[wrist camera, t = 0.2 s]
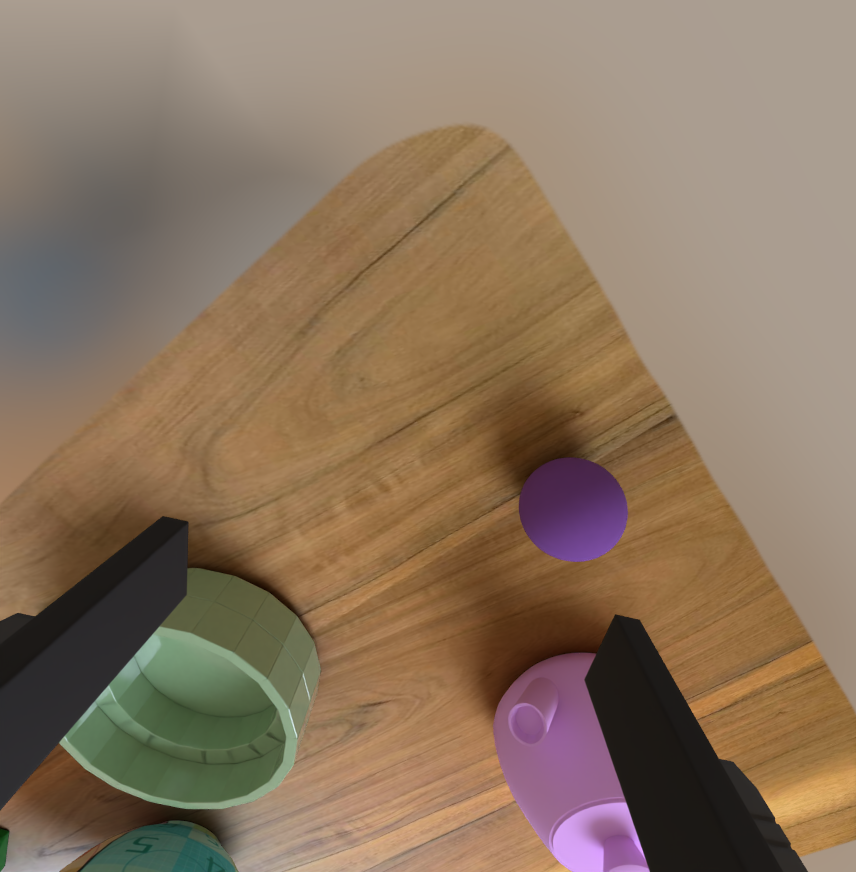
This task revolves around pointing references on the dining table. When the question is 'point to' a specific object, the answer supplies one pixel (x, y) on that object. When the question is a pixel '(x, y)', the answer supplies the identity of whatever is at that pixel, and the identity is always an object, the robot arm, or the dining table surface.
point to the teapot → (565, 768)
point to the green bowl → (205, 701)
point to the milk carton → (3, 847)
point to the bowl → (157, 851)
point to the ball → (573, 509)
